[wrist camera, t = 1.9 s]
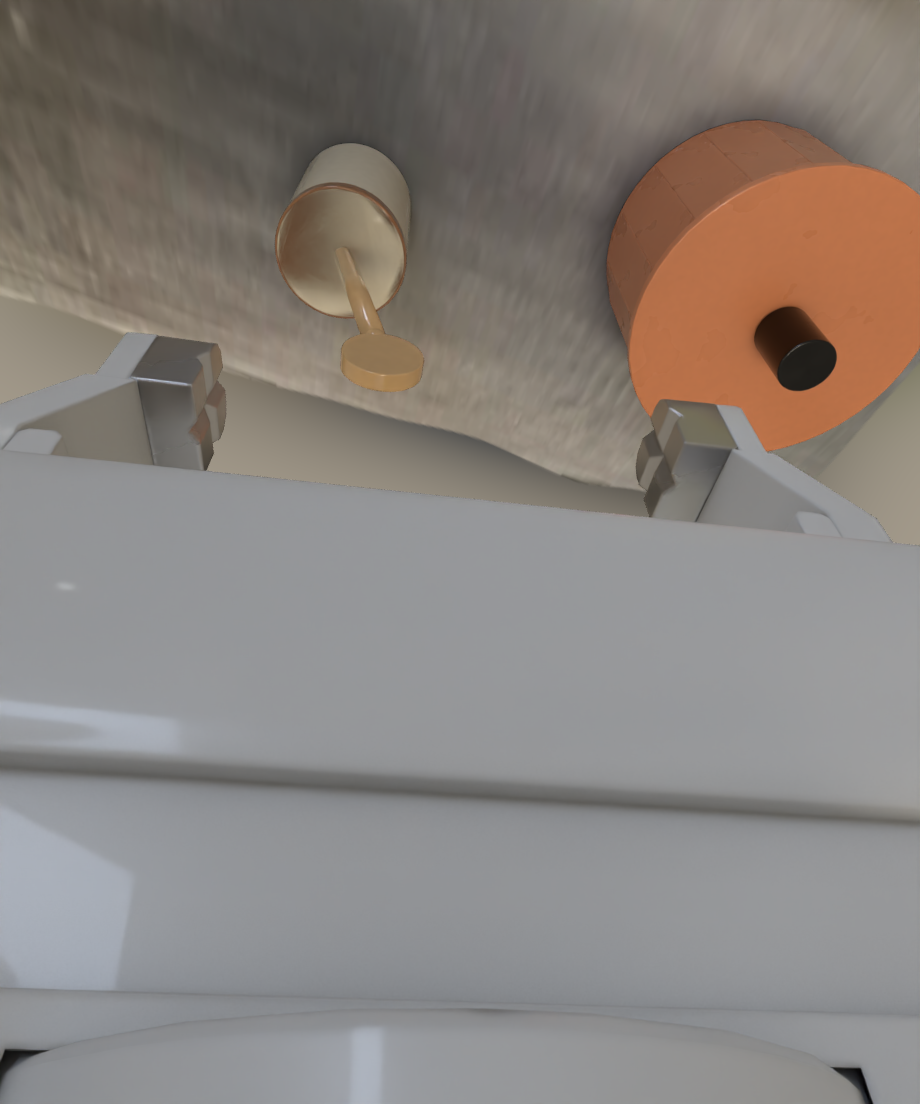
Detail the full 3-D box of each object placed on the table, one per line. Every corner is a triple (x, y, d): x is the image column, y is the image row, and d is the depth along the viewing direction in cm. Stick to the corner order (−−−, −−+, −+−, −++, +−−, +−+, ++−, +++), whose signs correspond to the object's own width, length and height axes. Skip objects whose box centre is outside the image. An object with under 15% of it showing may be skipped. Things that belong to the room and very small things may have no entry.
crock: (298, 252, 38) (224, 431, 26) (299, 131, 34) (214, 273, 22) (423, 273, 39) (411, 456, 26) (439, 157, 35) (434, 309, 22)
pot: (578, 338, 42) (602, 422, 35) (654, 96, 33) (704, 147, 27) (772, 370, 43) (829, 455, 37) (893, 146, 35) (995, 206, 28)
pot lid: (588, 422, 36) (601, 473, 33) (693, 126, 27) (725, 158, 24) (828, 457, 38) (862, 509, 35) (1005, 191, 29) (1073, 228, 25)
